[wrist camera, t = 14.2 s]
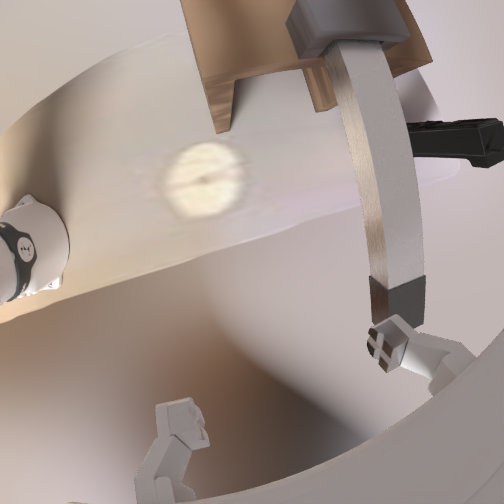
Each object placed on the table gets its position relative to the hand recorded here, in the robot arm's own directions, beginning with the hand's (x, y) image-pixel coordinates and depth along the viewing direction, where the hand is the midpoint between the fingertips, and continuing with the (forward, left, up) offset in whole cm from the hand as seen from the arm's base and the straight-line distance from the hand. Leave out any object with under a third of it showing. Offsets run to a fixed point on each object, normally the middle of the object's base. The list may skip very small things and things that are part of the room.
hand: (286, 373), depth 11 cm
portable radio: (+31, +7, -34) cm, 47 cm away
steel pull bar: (+9, +7, -7) cm, 14 cm away
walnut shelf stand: (+9, +21, -34) cm, 41 cm away
